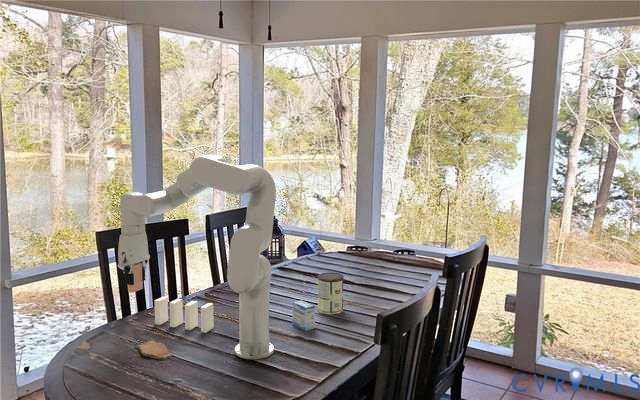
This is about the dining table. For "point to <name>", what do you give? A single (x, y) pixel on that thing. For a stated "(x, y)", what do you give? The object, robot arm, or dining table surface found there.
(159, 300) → the domino far
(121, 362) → the dining table surface
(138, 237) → the robot arm
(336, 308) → the coffee can
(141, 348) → the pottery shard
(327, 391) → the dining table surface
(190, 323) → the domino
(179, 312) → the domino
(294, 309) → the medicine box
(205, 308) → the domino
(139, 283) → the terracotta domino
